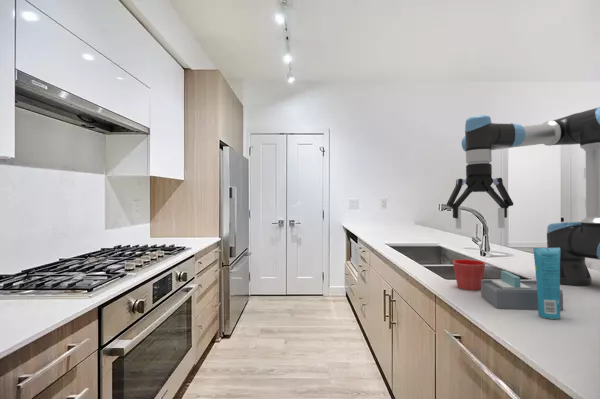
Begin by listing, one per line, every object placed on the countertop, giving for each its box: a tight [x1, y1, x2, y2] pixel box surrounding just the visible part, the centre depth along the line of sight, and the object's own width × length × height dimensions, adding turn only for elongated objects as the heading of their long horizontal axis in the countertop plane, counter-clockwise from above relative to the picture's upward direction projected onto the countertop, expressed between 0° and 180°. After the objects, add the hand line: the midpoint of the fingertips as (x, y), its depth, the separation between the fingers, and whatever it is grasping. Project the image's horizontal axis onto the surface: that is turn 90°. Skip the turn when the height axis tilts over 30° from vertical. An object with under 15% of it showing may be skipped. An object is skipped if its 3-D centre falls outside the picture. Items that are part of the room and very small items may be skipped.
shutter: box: [491, 270, 531, 289], centre depth 109 cm, size 7×10×4 cm
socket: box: [480, 279, 564, 311], centre depth 108 cm, size 18×13×6 cm
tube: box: [533, 247, 561, 320], centre depth 95 cm, size 7×5×19 cm, turn 96°
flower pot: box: [452, 259, 486, 291], centre depth 128 cm, size 11×11×10 cm
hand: (479, 228), depth 113 cm, fingers open, 13 cm apart
